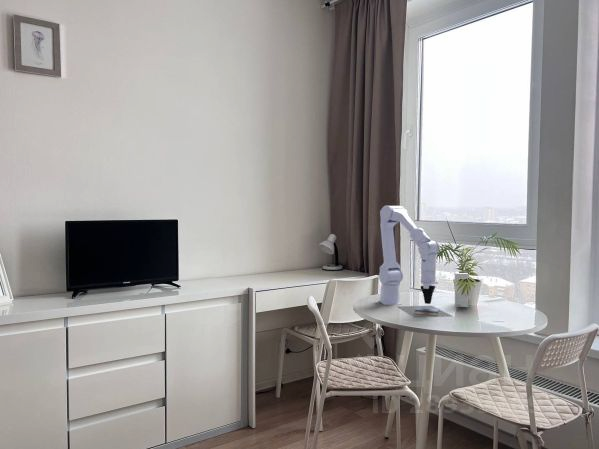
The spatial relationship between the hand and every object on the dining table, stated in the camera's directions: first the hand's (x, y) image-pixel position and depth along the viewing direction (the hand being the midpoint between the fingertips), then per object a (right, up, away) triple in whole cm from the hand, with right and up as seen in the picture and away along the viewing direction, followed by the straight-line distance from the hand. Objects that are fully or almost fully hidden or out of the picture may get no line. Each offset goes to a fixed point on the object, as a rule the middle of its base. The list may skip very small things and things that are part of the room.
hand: (427, 303), depth 190 cm
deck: (0, -3, +1) cm, 3 cm away
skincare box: (+19, -4, +15) cm, 24 cm away
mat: (-1, -4, +2) cm, 4 cm away
